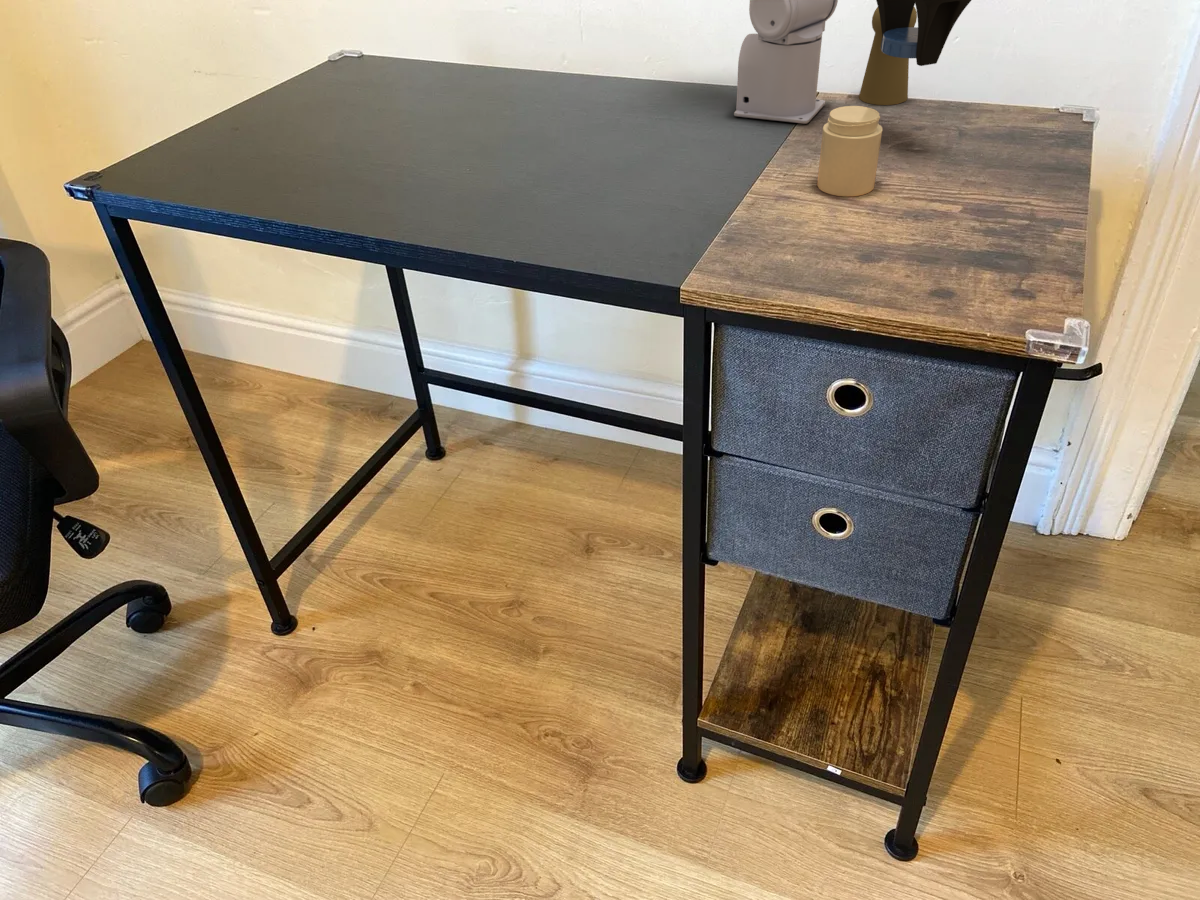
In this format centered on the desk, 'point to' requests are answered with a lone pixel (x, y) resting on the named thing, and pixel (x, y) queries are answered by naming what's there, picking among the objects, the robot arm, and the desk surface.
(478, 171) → the desk surface
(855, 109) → the jar
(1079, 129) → the desk surface
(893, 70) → the olive cone figure
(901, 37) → the lid
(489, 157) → the desk surface
